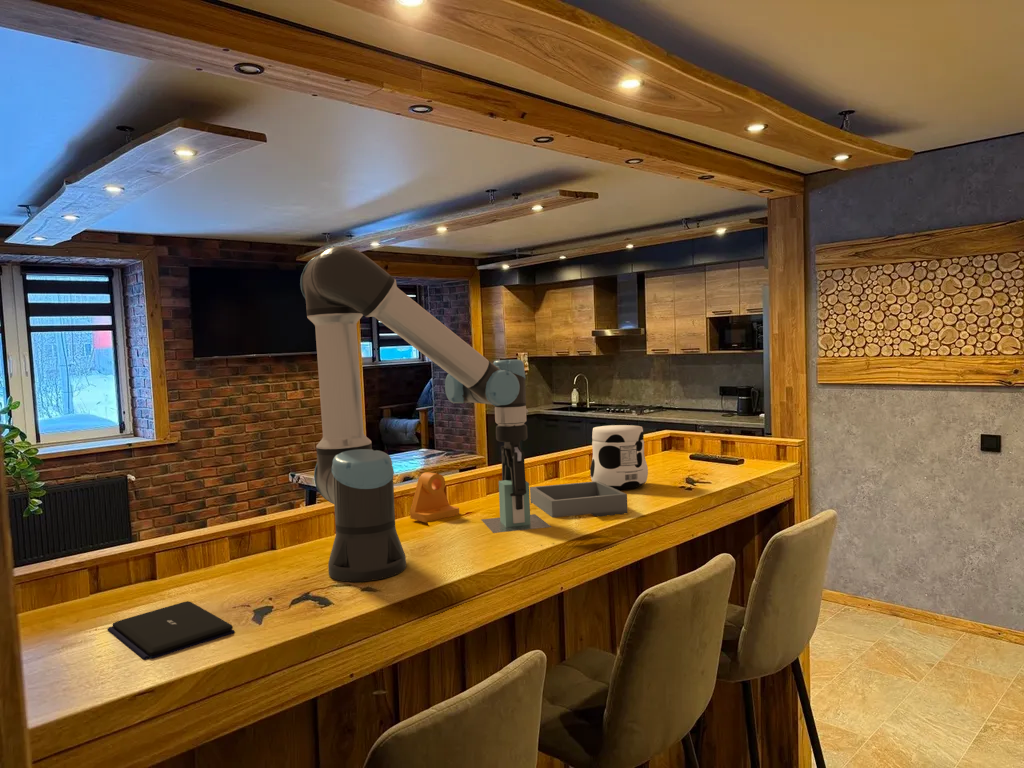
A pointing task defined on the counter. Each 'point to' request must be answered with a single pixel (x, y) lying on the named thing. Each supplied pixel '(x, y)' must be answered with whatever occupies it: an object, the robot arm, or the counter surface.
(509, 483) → the green rectangular block
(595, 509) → the bin
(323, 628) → the counter surface
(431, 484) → the bracket
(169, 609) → the laptop
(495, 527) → the base
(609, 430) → the milk container
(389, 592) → the counter surface
